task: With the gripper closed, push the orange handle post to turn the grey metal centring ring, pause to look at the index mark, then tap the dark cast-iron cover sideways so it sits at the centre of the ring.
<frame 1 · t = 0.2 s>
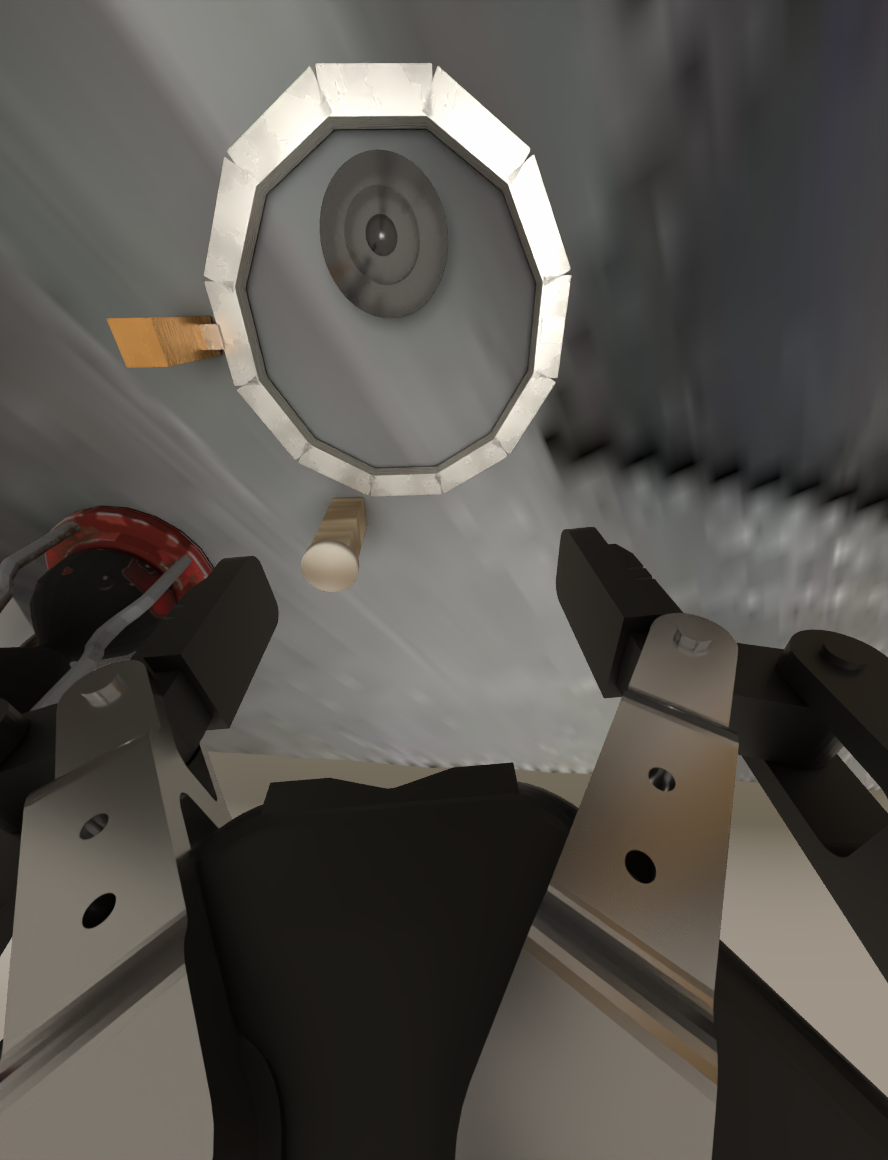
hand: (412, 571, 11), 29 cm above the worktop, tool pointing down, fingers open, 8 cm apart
cover: (390, 251, 29), resting in ring
ring: (365, 335, 28), point 4 cm above the worktop, hinge at 0.0°
gauge stand: (350, 511, 40), on the worktop
hourglass: (142, 571, 43), on the worktop
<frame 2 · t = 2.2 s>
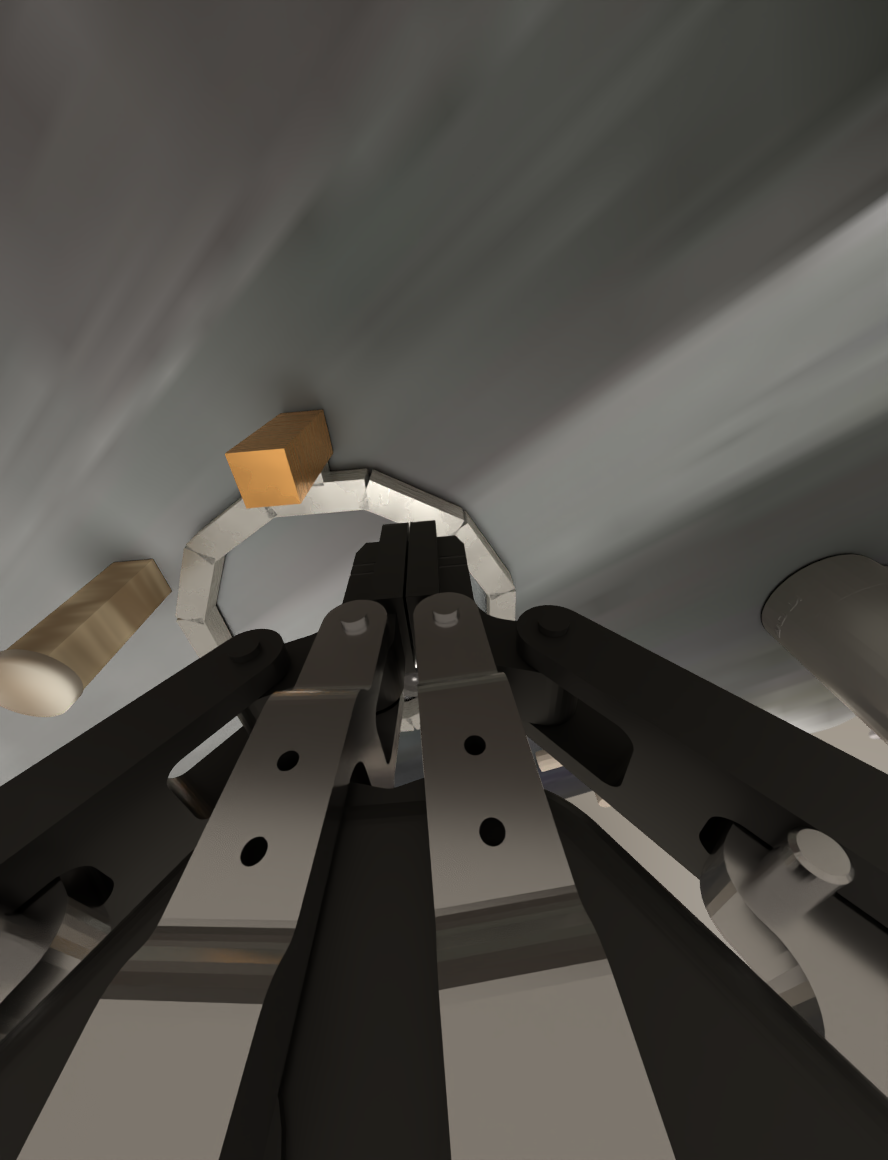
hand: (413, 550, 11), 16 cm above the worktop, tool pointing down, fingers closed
cover: (416, 613, 33), resting in ring
ring: (344, 637, 29), point 4 cm above the worktop, hinge at 0.0°
pipe connector: (572, 702, 41), on the worktop
gauge stand: (143, 577, 30), on the worktop
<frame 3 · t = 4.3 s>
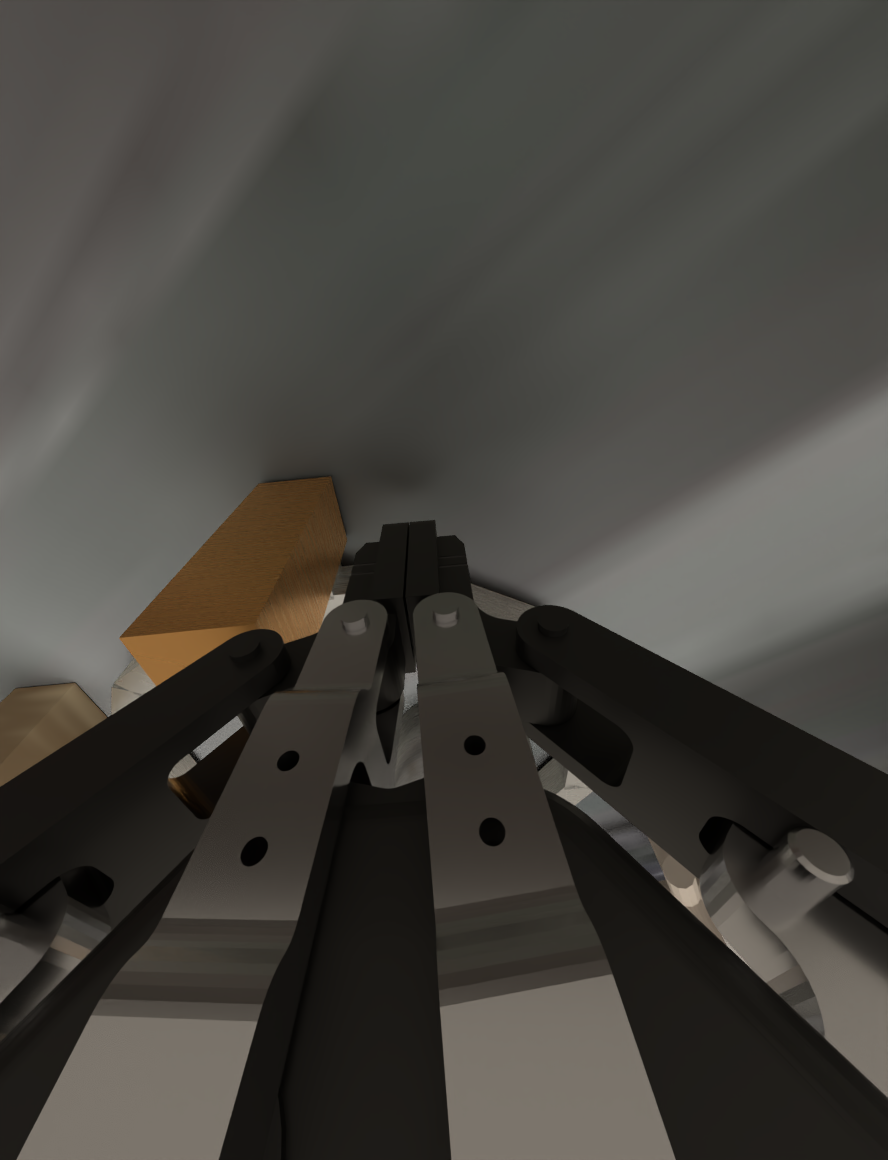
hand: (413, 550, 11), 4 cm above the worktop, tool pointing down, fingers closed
cover: (460, 732, 24), resting in ring
ring: (365, 799, 19), point 4 cm above the worktop, hinge at 0.3°, touching gripper
pipe connector: (650, 814, 32), on the worktop
gauge stand: (64, 704, 20), on the worktop
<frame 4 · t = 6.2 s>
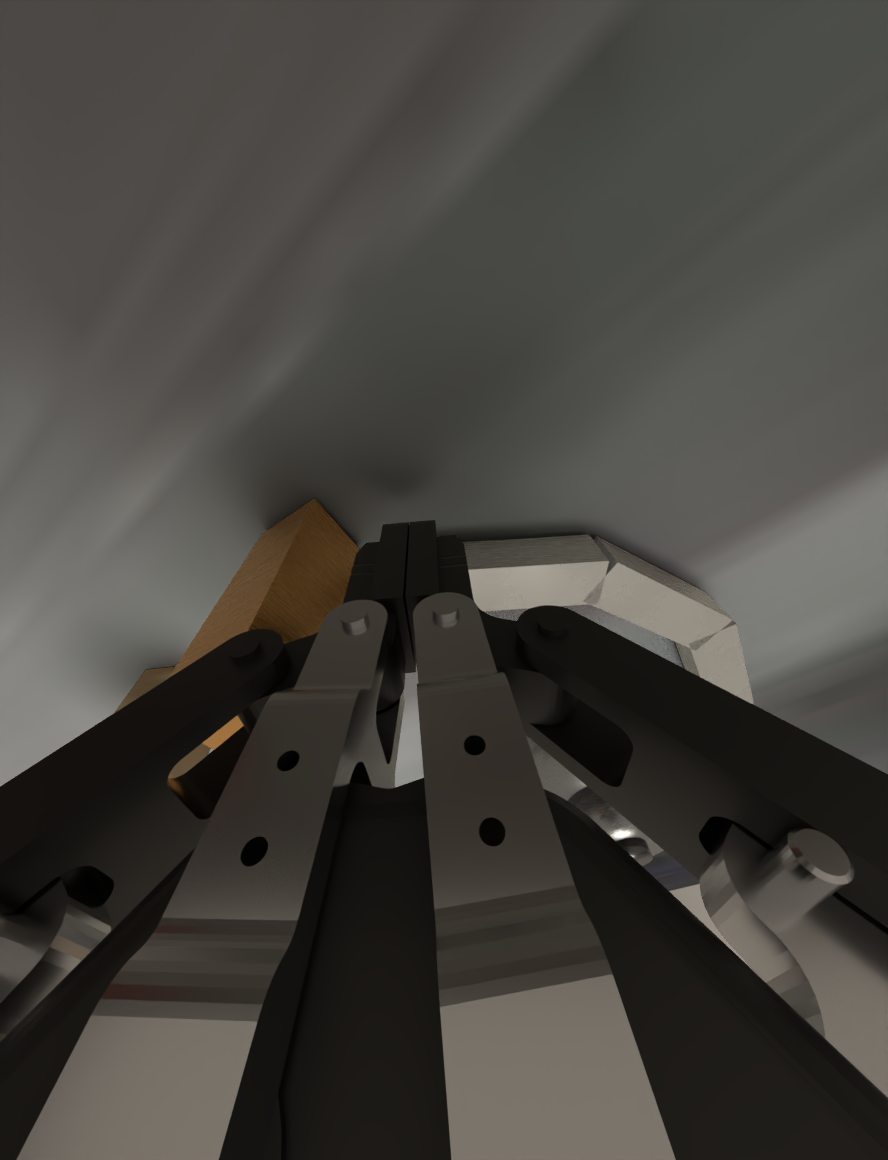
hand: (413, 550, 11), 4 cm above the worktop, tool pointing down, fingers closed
cover: (574, 715, 24), resting in ring
ring: (490, 784, 19), point 4 cm above the worktop, hinge at 27.6°, touching gripper
gauge stand: (190, 686, 20), on the worktop
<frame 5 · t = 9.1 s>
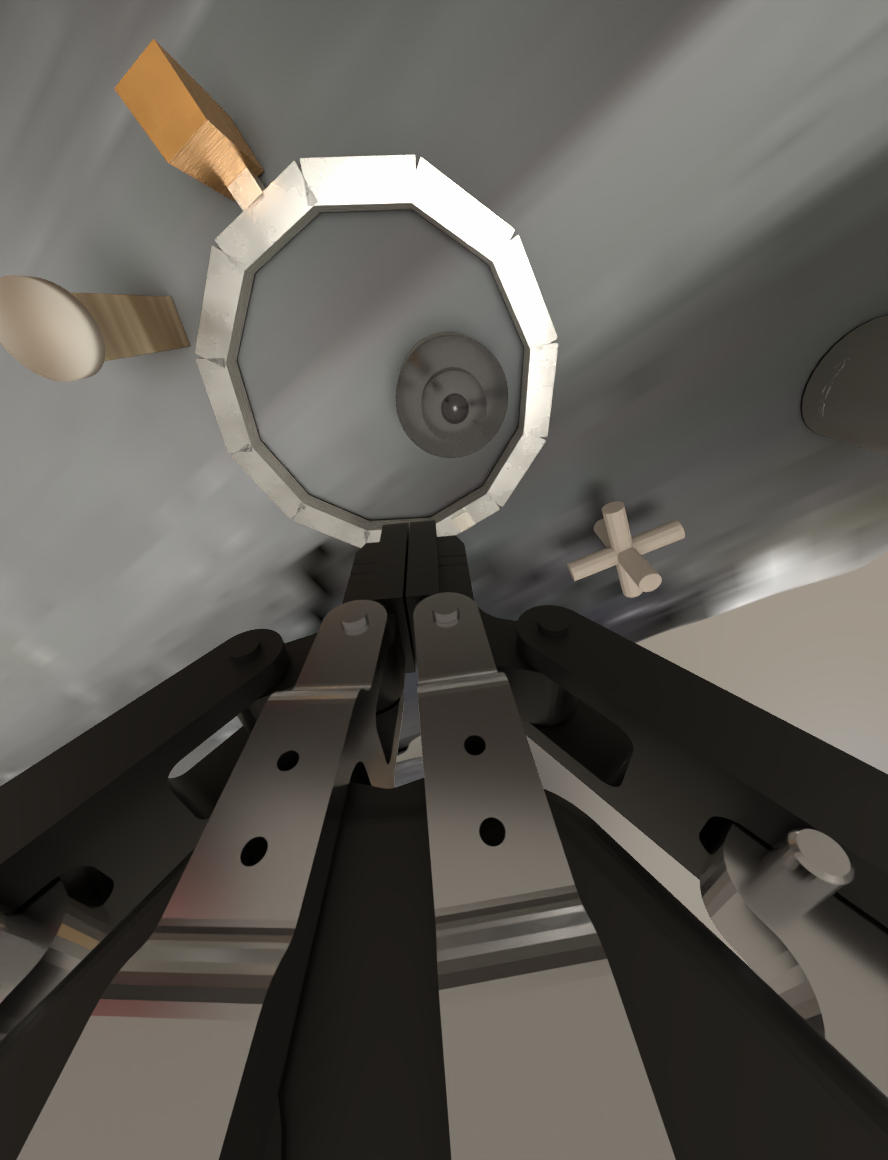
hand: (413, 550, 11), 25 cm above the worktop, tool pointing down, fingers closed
cover: (447, 389, 32), resting in ring
ring: (366, 381, 27), point 4 cm above the worktop, hinge at 27.8°
pipe connector: (601, 525, 40), on the worktop
gauge stand: (160, 324, 28), on the worktop
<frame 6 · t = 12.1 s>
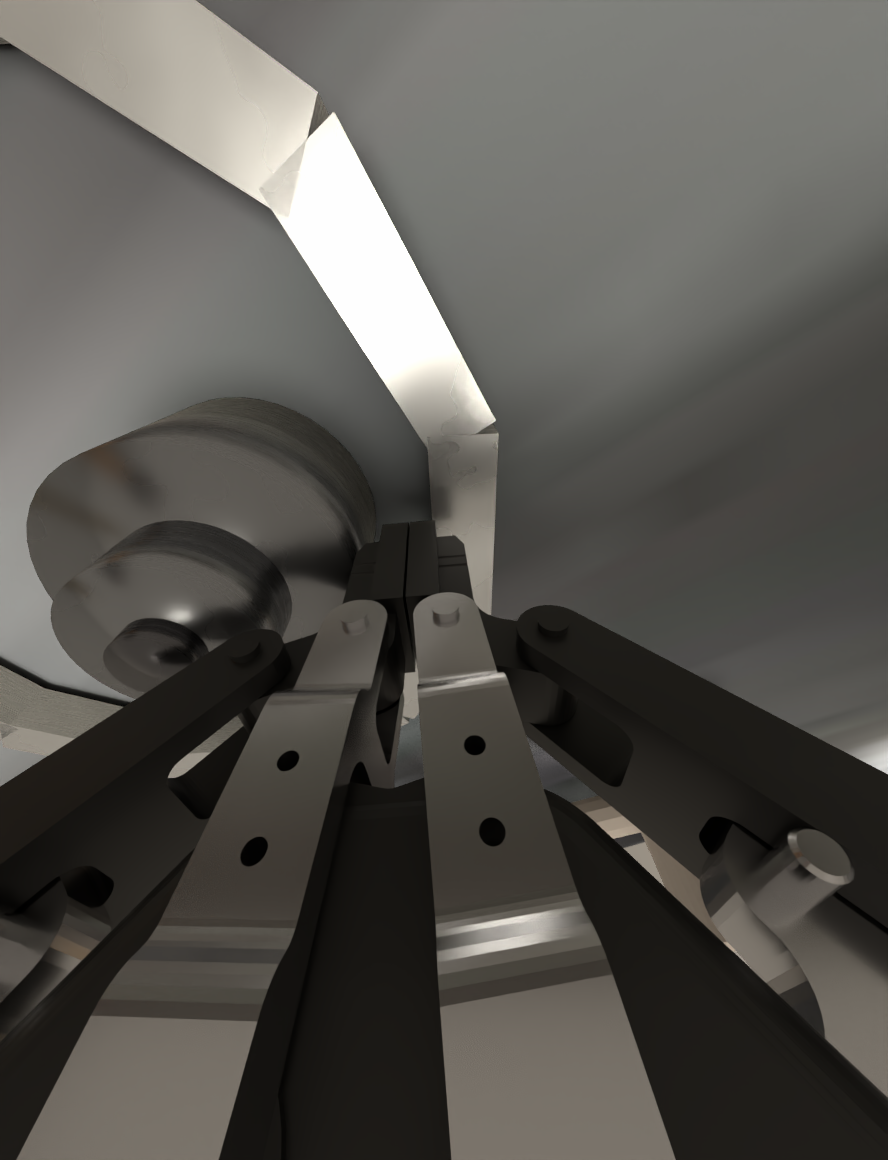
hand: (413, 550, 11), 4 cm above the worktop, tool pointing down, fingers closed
cover: (267, 514, 15), resting in ring, touching gripper
pipe connector: (609, 711, 23), on the worktop
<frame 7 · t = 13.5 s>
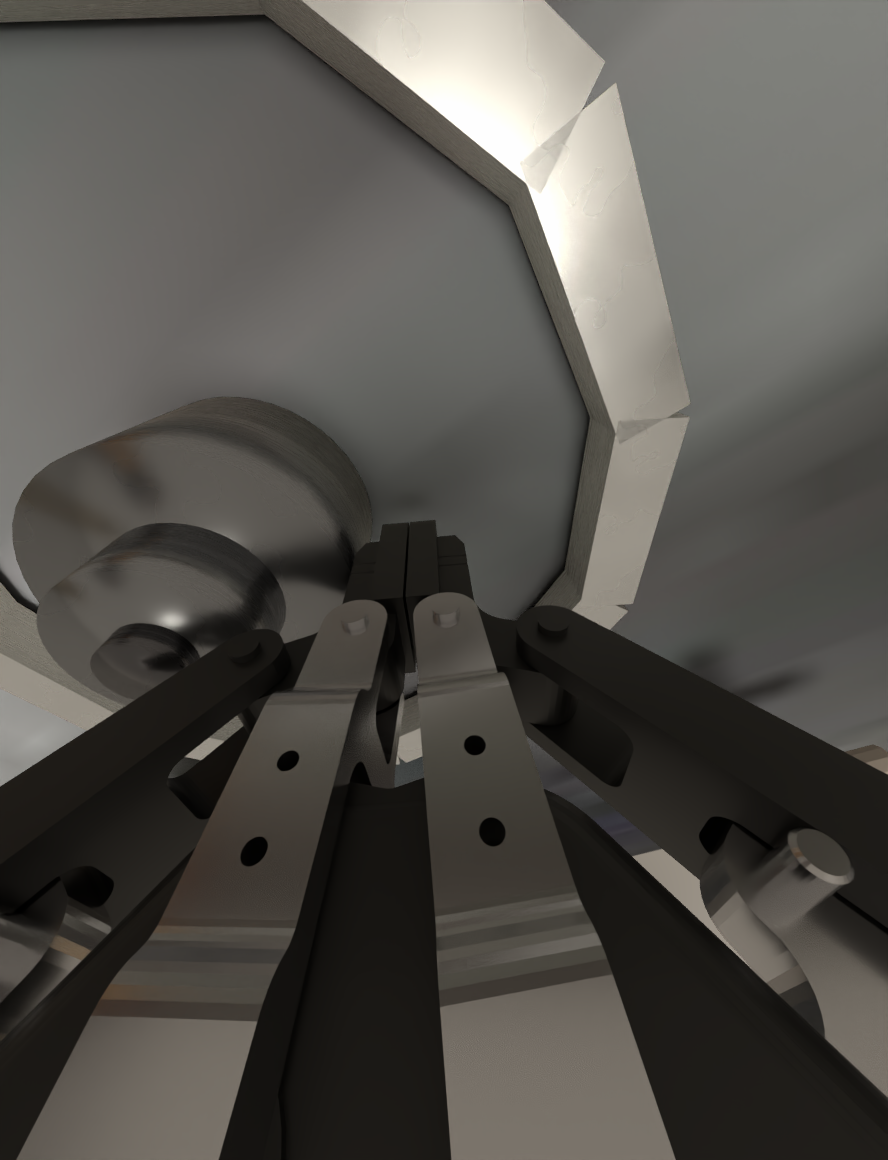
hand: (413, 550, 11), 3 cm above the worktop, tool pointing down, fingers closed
cover: (262, 515, 14), resting in ring, touching gripper
ring: (168, 532, 10), point 4 cm above the worktop, hinge at 27.8°
pipe connector: (700, 703, 22), on the worktop
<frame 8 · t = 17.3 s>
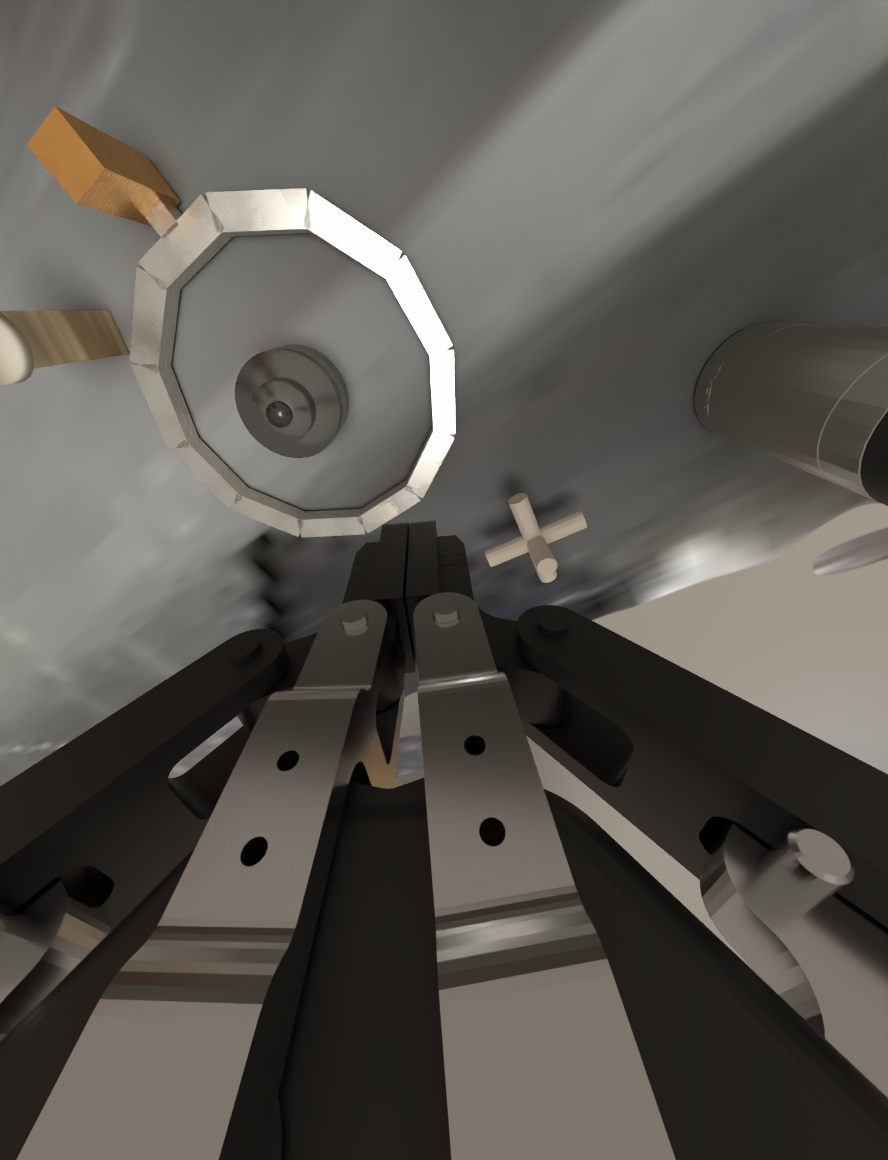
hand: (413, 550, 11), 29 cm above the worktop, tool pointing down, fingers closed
cover: (303, 396, 35), resting in ring
ring: (279, 384, 31), point 4 cm above the worktop, hinge at 27.8°
pipe connector: (523, 516, 43), on the worktop
gauge stand: (101, 334, 32), on the worktop
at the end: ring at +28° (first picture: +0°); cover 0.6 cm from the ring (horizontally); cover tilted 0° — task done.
